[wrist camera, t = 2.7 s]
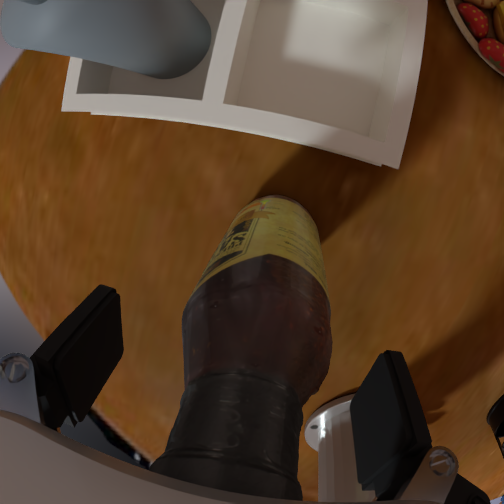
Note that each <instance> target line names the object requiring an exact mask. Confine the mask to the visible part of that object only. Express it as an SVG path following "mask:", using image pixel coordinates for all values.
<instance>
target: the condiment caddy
mask: <svg viewBox="0 0 504 504" xmlns="http://www.w3.org/2000/svg"><path fill="white" fill-rule="evenodd" d="M427 5H428V0H4V3H3V7H2V11H1V23H0V24H1V31H2V35H3V38H4V39H5V41H6V42H7V43H8V44H9V45H11V46H12V47H15V48H22V49H29V50H36V51H43V52H49V53H55V54H60V55H66V56H71V58H70V63H69V67H68V72H67V78H66V83H65V89H64V96H63V102H62V110H61V111H85V112H91V114H96V115H114V116H128V117H140V118H151V119H160V120H169V121H177V122H185V123H192V124H199V125H206V126H212V127H219V128H225V129H230V130H236V131H241V132H247V133H252V134H257V135H262V136H267V137H271V138H276V139H281V140H285V141H289V142H294V143H298V144H302V145H306V146H310V147H314V148H318V149H322V150H326V151H329V152H333V153H337V154H340V155H344V156H347V157H351V158H354V159H358V160H361V161H364V162H367V163H371V164H374V165H377V166H380V167H381V165H382V164H384V165H387V166H390V167H393V168H396V169H399V165H400V161H401V158H402V154H403V150H404V146H405V142H406V137H407V133H408V129H409V124H410V120H411V115H412V110H413V105H414V100H415V95H416V90H417V84H418V78H419V72H420V66H421V59H422V52H423V45H424V36H425V27H426V17H427Z"/></svg>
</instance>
